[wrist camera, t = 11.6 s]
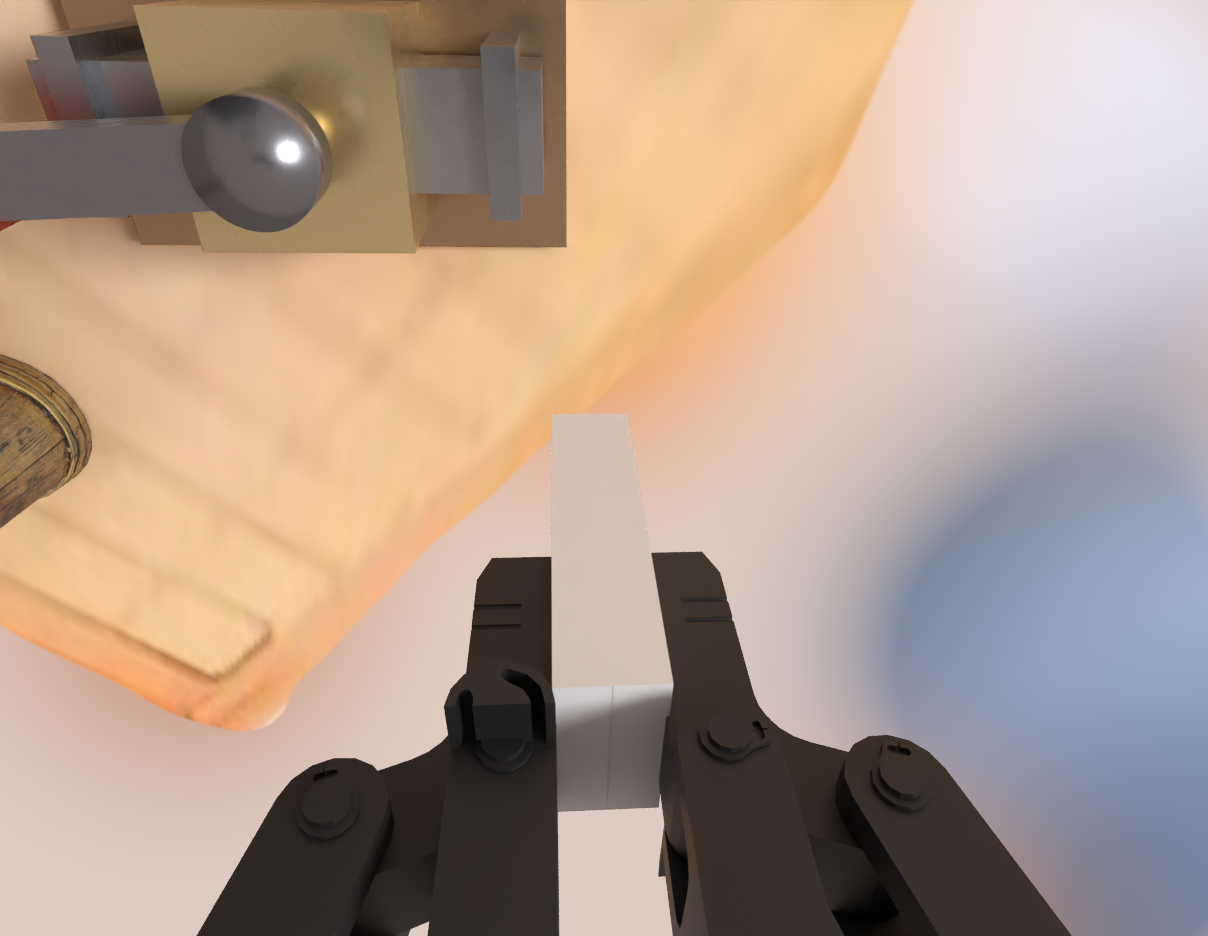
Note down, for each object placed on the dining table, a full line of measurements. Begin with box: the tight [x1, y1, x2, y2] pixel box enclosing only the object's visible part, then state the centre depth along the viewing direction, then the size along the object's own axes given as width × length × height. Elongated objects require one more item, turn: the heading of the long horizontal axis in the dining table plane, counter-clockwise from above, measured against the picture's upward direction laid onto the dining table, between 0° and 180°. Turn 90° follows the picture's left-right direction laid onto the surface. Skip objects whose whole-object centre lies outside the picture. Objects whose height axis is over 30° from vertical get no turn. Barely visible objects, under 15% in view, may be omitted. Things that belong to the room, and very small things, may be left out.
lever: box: [0, 87, 333, 232], centre depth 23 cm, size 16×4×2 cm, turn 92°
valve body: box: [26, 0, 566, 253], centre depth 29 cm, size 12×20×10 cm, turn 88°
